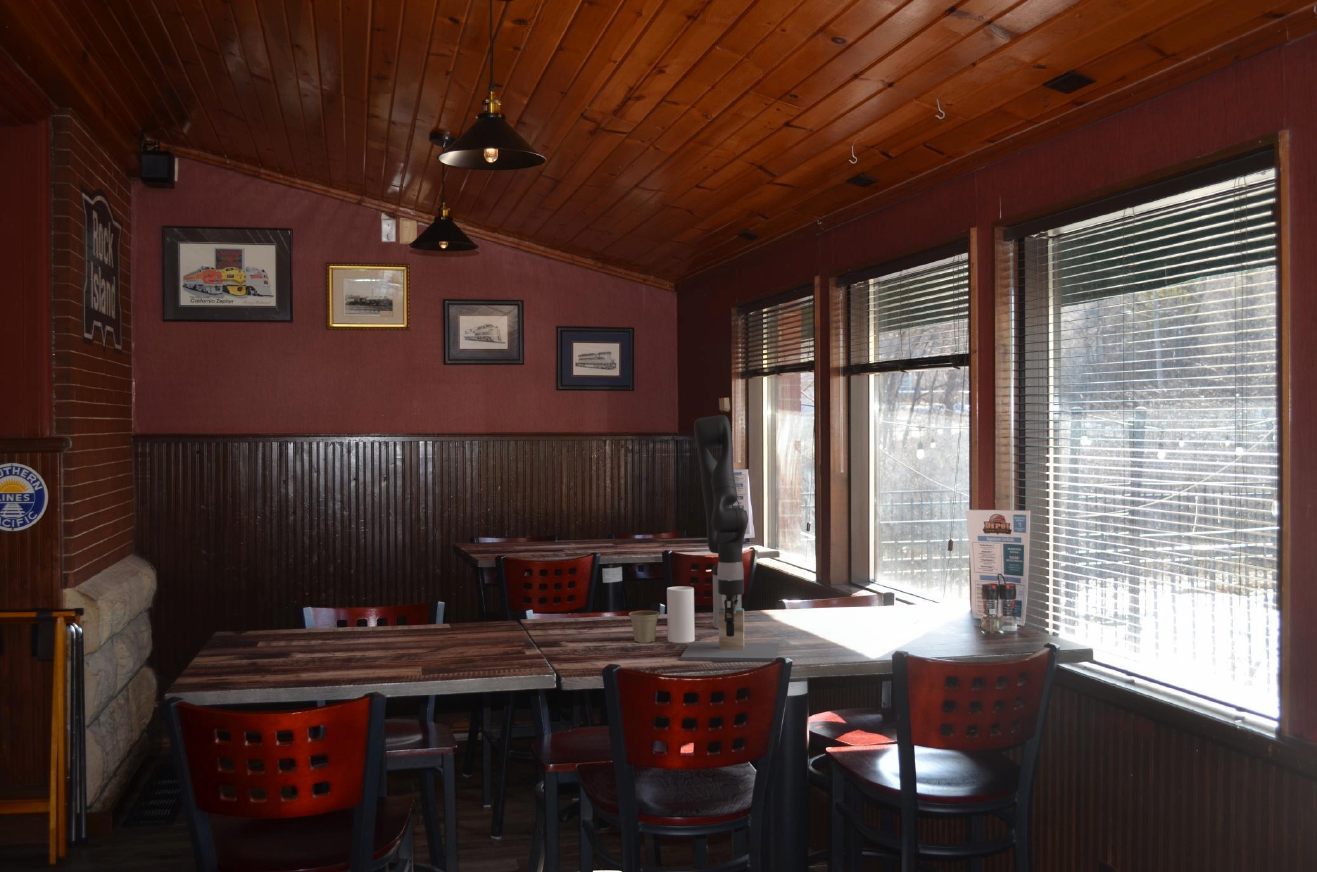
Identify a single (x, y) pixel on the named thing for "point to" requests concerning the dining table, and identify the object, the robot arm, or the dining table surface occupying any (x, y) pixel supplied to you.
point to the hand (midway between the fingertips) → (731, 633)
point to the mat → (730, 652)
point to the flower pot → (644, 625)
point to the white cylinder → (680, 614)
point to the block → (739, 635)
